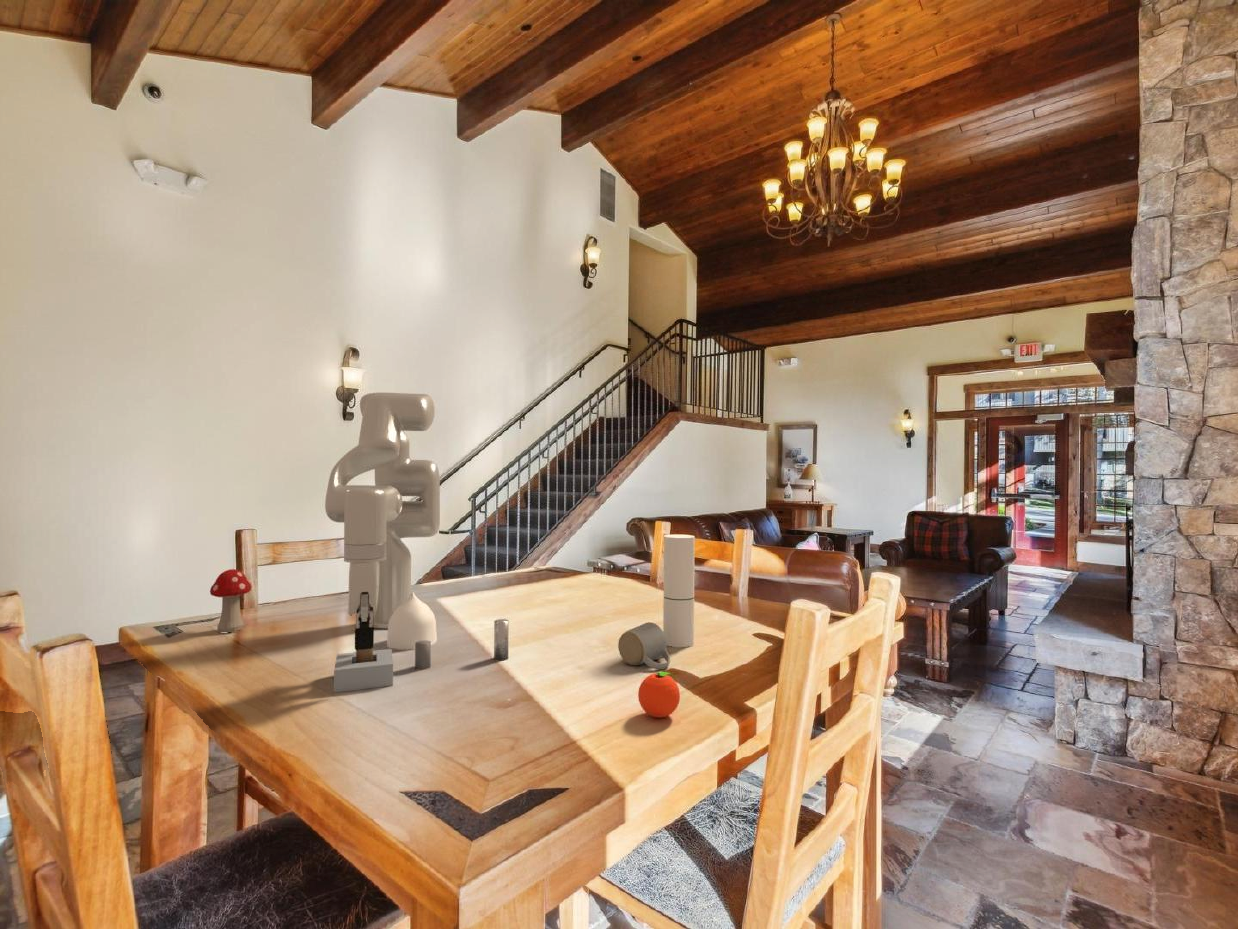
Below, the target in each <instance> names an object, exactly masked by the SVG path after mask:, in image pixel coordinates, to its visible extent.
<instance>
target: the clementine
mask: <svg viewBox="0 0 1238 929" xmlns="http://www.w3.org/2000/svg"><path fill="white" fill-rule="evenodd" d="M637 695H638V696H637V697H638V702H639V705H640V707H641V708H642V709H643V711H644V712H645V713H646V714H648V715H649V716H650V717H652V718H658V719H659V718H667V717H669V716H670V715H672V714H673V713H674V712H675V711H676V710H677V708H678V707H679V704H680V700H681V693H680V688H679V686H678V683H677V682H676V680H675V676H674V675H673V674H672V673H671V672H667V671H661V672H656V673H655V672H654V673H651V674H650V675H648V676H646V677H645V678H644V679H643V680H642V681H641V683H640V685H639V687H638V693H637Z"/></svg>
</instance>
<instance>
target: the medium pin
mask: <svg viewBox="0 0 1238 929" xmlns="http://www.w3.org/2000/svg"><path fill="white" fill-rule="evenodd" d="M509 624H510V621H509V620H508V619H505V618H499V619H496V620H494V621H493V626H494V627H493V632H494V633H493V660H494V661H506V660H508V659H509Z"/></svg>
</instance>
